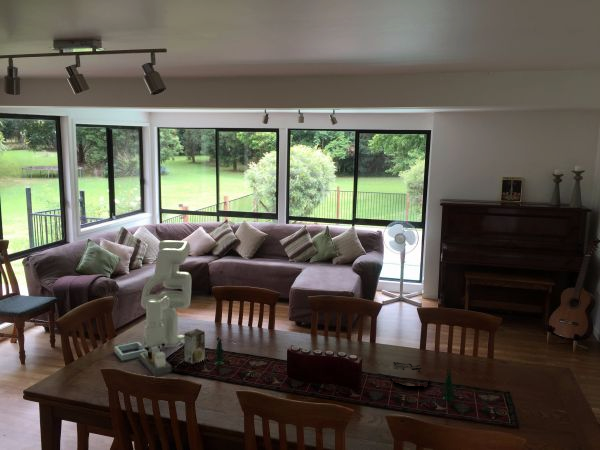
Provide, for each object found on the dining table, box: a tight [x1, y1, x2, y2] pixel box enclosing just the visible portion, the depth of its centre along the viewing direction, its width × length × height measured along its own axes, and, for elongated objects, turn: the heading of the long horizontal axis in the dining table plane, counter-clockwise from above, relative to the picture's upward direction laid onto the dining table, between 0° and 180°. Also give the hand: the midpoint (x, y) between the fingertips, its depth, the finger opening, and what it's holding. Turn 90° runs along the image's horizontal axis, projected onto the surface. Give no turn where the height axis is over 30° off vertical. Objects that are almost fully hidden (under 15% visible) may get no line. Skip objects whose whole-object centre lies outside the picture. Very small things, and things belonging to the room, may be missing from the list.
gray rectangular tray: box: [138, 352, 172, 377], centre depth 259 cm, size 8×23×4 cm, turn 36°
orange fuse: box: [150, 345, 160, 363], centre depth 258 cm, size 4×4×9 cm
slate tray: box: [114, 341, 145, 361], centre depth 272 cm, size 13×13×4 cm
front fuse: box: [155, 351, 166, 368], centre depth 252 cm, size 4×4×9 cm
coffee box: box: [183, 328, 206, 365], centre depth 266 cm, size 9×6×16 cm
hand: (154, 357), depth 258 cm, fingers open, 4 cm apart
